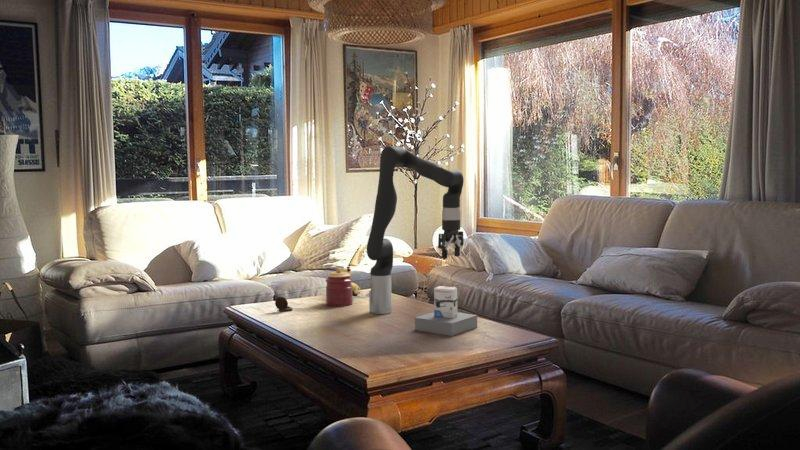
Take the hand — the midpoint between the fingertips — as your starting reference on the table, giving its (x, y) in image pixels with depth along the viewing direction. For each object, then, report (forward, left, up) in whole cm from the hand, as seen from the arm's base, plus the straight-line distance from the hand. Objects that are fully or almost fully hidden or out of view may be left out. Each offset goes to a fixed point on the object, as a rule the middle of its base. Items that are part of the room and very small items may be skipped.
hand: (450, 257), depth 288 cm
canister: (-68, +3, -28) cm, 73 cm away
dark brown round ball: (-79, -23, -28) cm, 87 cm away
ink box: (+3, -9, -23) cm, 25 cm away
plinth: (+3, -9, -28) cm, 29 cm away
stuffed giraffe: (-78, +24, -28) cm, 86 cm away
